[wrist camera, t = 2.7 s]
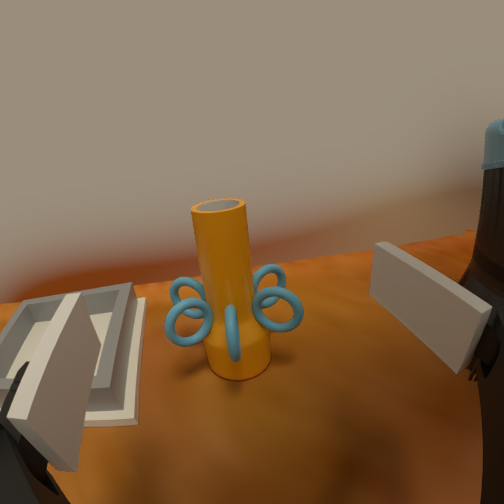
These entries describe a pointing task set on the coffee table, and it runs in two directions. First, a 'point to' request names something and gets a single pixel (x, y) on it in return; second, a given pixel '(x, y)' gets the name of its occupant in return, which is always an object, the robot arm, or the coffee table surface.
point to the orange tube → (230, 294)
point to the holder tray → (110, 357)
